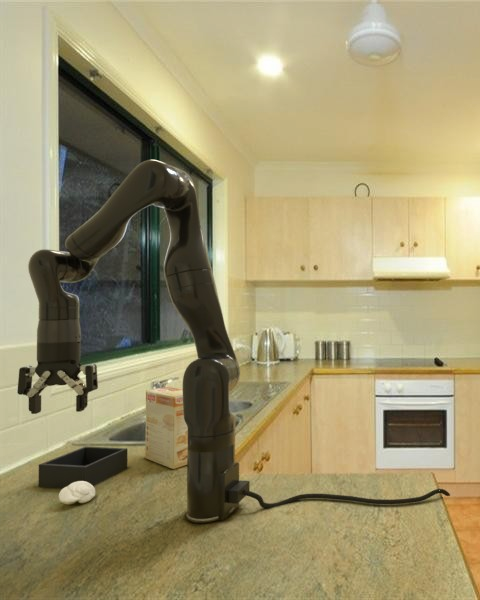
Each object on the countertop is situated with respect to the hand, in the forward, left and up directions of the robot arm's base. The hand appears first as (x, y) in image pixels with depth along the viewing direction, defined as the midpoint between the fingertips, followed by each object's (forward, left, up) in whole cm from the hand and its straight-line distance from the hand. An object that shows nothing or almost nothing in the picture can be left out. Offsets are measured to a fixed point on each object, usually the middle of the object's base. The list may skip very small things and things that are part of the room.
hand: (58, 411), depth 90 cm
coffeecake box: (-9, -25, -20) cm, 33 cm away
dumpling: (-5, 0, -20) cm, 21 cm away
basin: (+5, -12, -20) cm, 24 cm away
